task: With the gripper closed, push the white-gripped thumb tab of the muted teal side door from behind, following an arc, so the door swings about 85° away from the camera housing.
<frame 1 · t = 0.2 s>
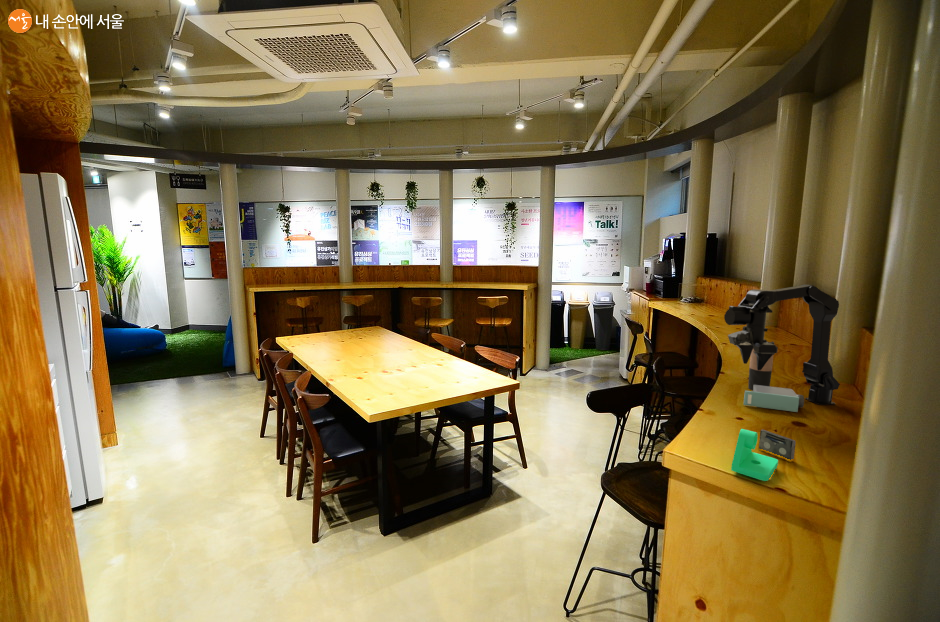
hand: (751, 366, 160), 14 cm above the table, fingers open, 9 cm apart
travel mug: (758, 389, 179), on the table
camera mount: (754, 472, 112), on the table
camera housing: (773, 405, 160), on the table
mini dv tape: (775, 456, 120), on the table
side door: (770, 401, 155), point 3 cm above the table, hinge at 0.0°
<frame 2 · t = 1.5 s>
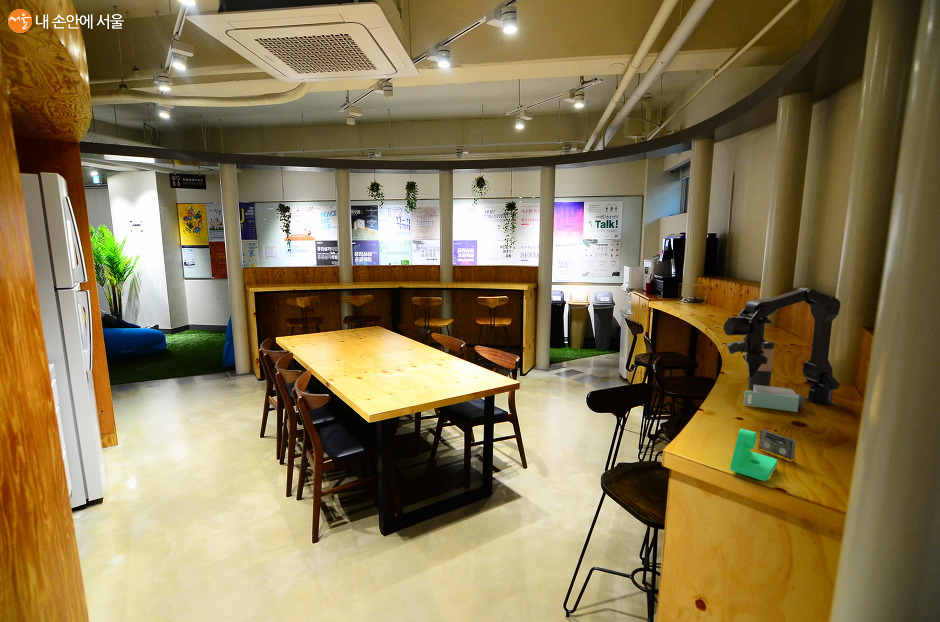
hand: (751, 376, 161), 10 cm above the table, fingers closed
nothing on the table moved.
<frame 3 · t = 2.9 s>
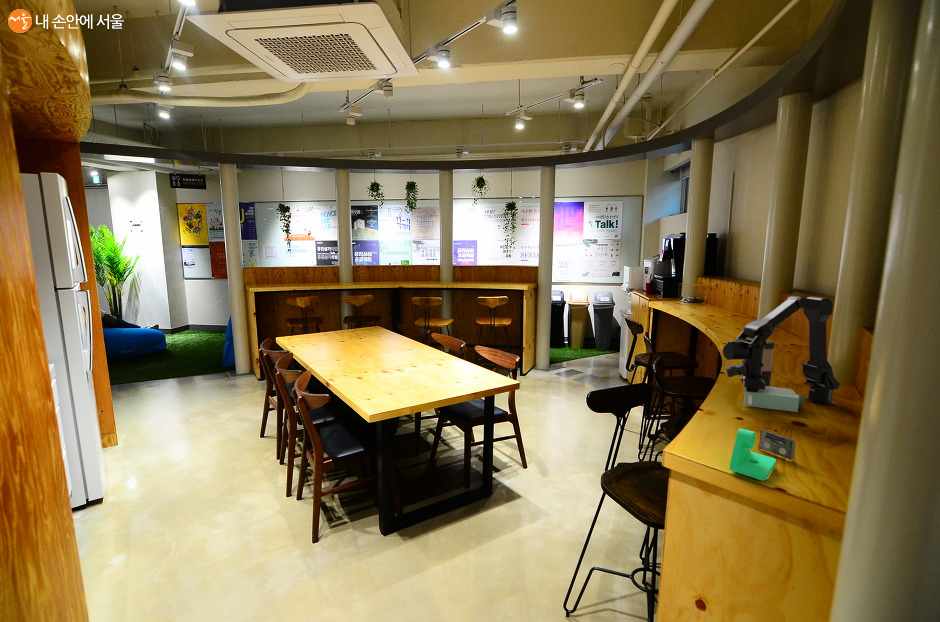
hand: (749, 400, 160), 2 cm above the table, fingers closed
side door: (771, 401, 155), point 3 cm above the table, hinge at 2.6°, touching gripper
everything else where it was.
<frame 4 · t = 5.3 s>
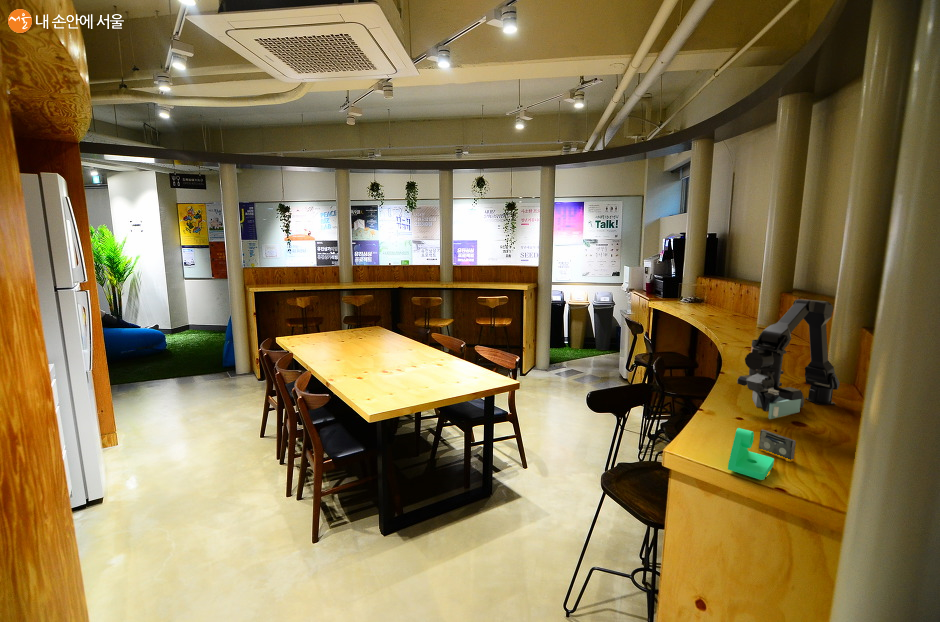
hand: (765, 411, 149), 2 cm above the table, fingers closed
side door: (786, 408, 148), point 3 cm above the table, hinge at 50.2°, touching gripper
everything else where it was.
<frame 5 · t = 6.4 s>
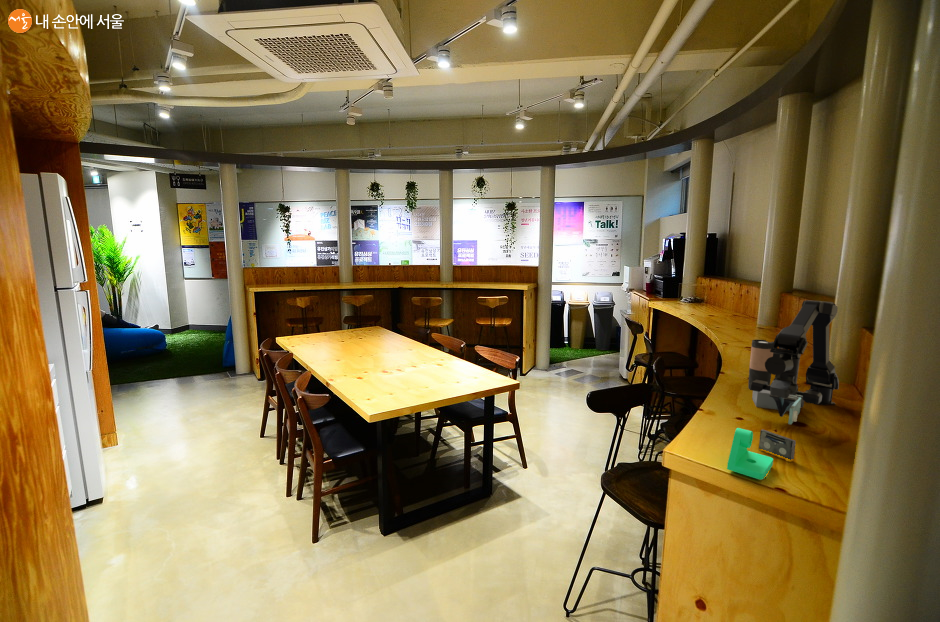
hand: (781, 416, 144), 2 cm above the table, fingers closed
side door: (796, 410, 146), point 3 cm above the table, hinge at 71.0°, touching gripper
everything else where it was.
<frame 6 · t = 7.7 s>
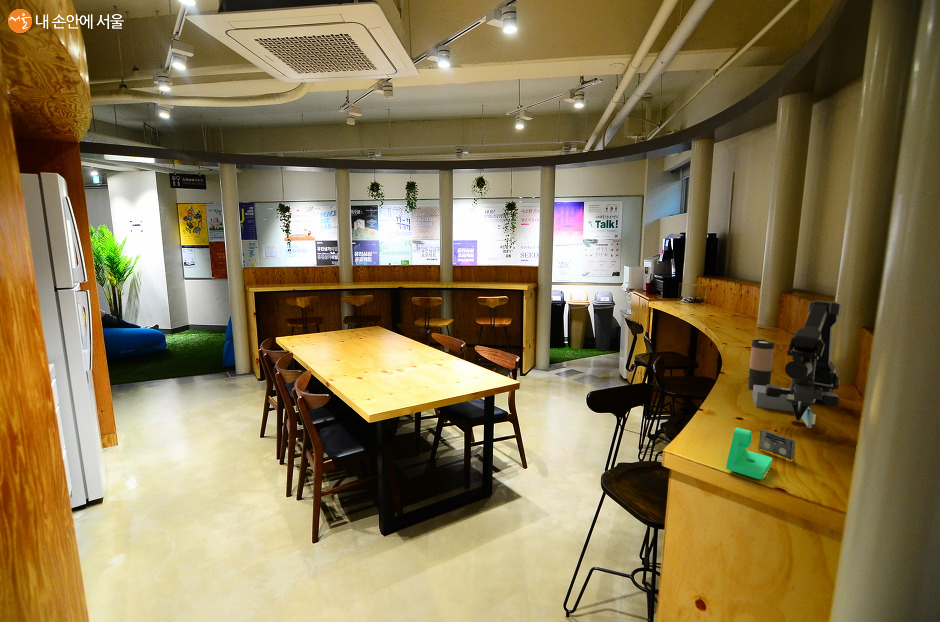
hand: (797, 420, 141), 2 cm above the table, fingers closed
side door: (806, 412, 145), point 3 cm above the table, hinge at 89.4°
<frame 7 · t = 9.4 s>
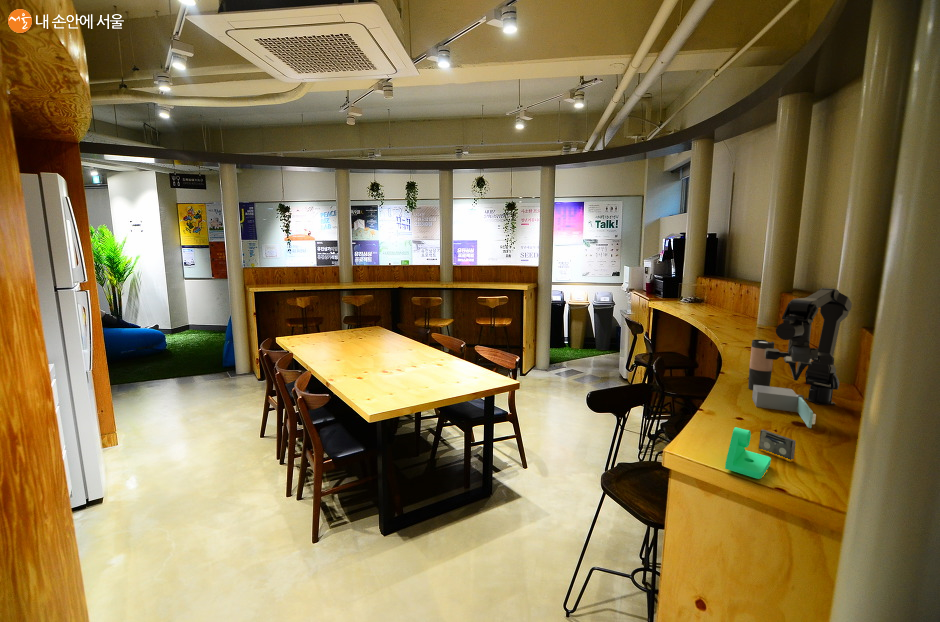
hand: (795, 380, 152), 12 cm above the table, fingers closed
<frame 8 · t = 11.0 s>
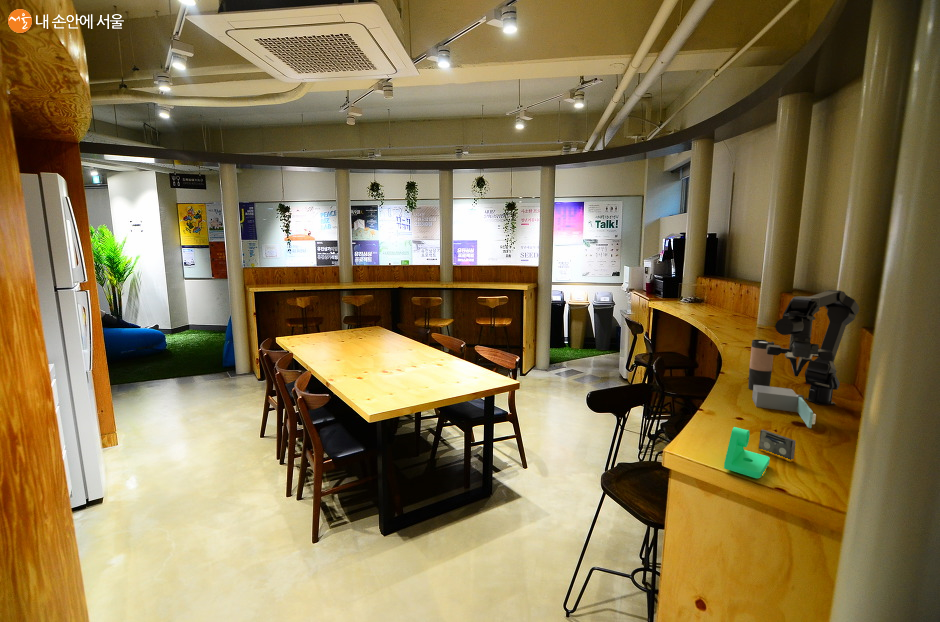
hand: (796, 376, 155), 12 cm above the table, fingers closed
at the end: side door at +89° (first picture: +0°) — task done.
